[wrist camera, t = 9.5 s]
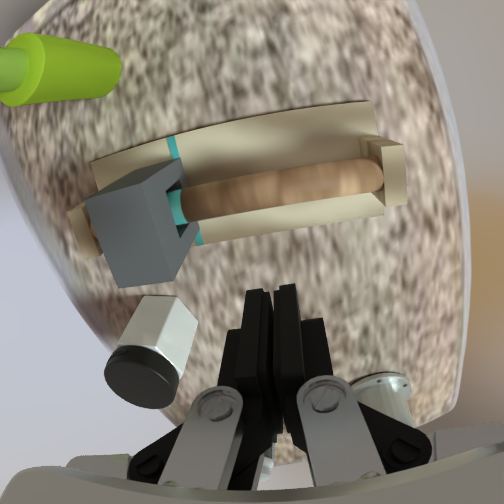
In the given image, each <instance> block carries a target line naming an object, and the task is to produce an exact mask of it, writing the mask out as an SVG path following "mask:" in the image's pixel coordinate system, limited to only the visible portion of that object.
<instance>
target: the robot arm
mask: <svg viewBox="0 0 504 504" xmlns="http://www.w3.org/2000/svg"><path fill="white" fill-rule="evenodd" d="M411 389H412V388H411V384H410V382H409V380H408V379H407V378H406V377H405V376H404V375H402V374H398V373H380V374H375V375H372V376H369V377H366V378H364V379H361V380H360V381H358V382H356V383H354V384H353V385H352V386H350V385H349V384H348V382H346V381H345V380H343V379H342V378H339V377H336V376H333V370H332V364H331V359H330V353H329V348H328V342H327V337H326V332H325V327H324V321H323V318H316V319H309V320H303V321H301V318H300V311H299V304H298V298H297V291H296V285H295V283H294V284H288V285H281V286H279V290H276V291H274V311H273V306H272V301H271V297H270V293H269V292H264V291H263V289H262V288H260V289H253V290H247V291H246V296H245V303H244V310H243V317H242V325H241V329H232V330H228V332H227V336H226V341H225V347H224V352H223V357H222V362H221V368H220V373H219V378H218V384H217V386H215V387H212V388H208V389H207V390H205V391H203V392H201V393H200V394H199V395H198V396H197V397H196V398H195V400H194V401H193V403H192V405H191V408H190V410H189V412H188V415H187V417H186V419H185V422H184V423H183V424H181V425H180V426H178V427H177V428H175V429H174V430H172V431H171V432H169V433H167V434H166V435H165V436H163V437H161V438H160V439H158V440H157V441H155V442H154V443H152V444H150V445H149V446H147V447H146V448H144V449H142V450H141V451H139V452H138V453H137V454H136V455H134V456H130V455H129V454H116V455H93V456H77V457H75V458H73V459H71V460H70V461H69V463H68V464H67V466H66V467H61V466H41V467H33V468H28V469H25V470H22V471H20V472H19V473H17V474H16V475H15V476H14V477H13V478H12V479H11V481H10V482H9V484H8V485H7V487H6V488H5V490H4V492H3V494H2V496H1V498H0V504H504V424H503V423H500V422H490V423H484V424H479V425H473V426H466V427H458V428H450V429H441V430H436V431H435V433H431V434H424V433H423V432H421V431H420V430H418V429H415V426H414V423H413V420H412V417H411V414H410V411H409V408H408V405H407V402H406V401H407V400H408V398H409V397H410V394H411ZM283 417H284V421H285V425H286V429H287V432H288V433H291V437H292V441H293V444H294V445H295V446H297V447H298V448H299V449H301V450H302V451H304V452H305V453H306V456H307V460H308V464H309V468H310V473H311V477H312V481H313V485H314V487H308V488H298V489H285V490H260V491H257V486H258V482H259V478H260V474H261V470H262V466H263V461H264V452H265V451H267V450H268V449H269V448H270V447H271V446H272V443H277V434H281V433H283Z"/></svg>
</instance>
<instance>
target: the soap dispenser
mask: <svg viewBox="0 0 504 504" xmlns="http://www.w3.org/2000/svg"><path fill="white" fill-rule="evenodd" d="M120 75H121V61H120V58H119V56H118V54H117V53H116V52H115V51H113V50H112V49H110V48H106V47H102V46H98V45H94V44H89V43H85V42H80V41H75V40H70V39H65V38H60V37H54V36H48V35H42V34H35V33H23V34H21V35H18V36H17V37H15V38H14V39H13V40H12V41H11V42H10V43H9V44H8V45H7V46H6V47H0V100H1V102H2V103H4V104H5V105H7V106H10V107H15V106H22V105H29V104H36V103H44V102H53V101H63V100H74V99H89V98H100V97H103V96H105V95H107V94H108V93H109V92H111V91H112V90H113V88H114V87H115V86H116V84H117V83H118V81H119V78H120Z"/></svg>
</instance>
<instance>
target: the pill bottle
mask: <svg viewBox="0 0 504 504" xmlns="http://www.w3.org/2000/svg"><path fill="white" fill-rule="evenodd" d="M273 465H274V443H272V446H271V447H270V448H269V449H268V450H267V451H265V452H264V461H263V466H262V470H261V474H260V478H259V482H263V481H267V480H269V479H270V478H271V471H270V470H269V469H271V468H272V467H273Z"/></svg>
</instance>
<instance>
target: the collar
mask: <svg viewBox="0 0 504 504" xmlns="http://www.w3.org/2000/svg"><path fill="white" fill-rule="evenodd" d="M184 188H188V184H187V180H186V176H185V173H184V169H183V165H182V161H181V157H180V158H176V159H172V160H168V161H164V162H161V163H157V164H153V165H150V166H146V167H143V168H139V169H136V170H134V171H132V172H130V173H128V174H127V175H125V176H123V177H121V178H120V179H118V180H116V181H115V182H113V183H111V184H109V185H108V186H106V187H104V188H103V189H101V190H99V191H98V192H96V193H95V194H93V195H91V196H90V197H88V198H87V199H85V200H84V202H85V205H86V208H87V211H88V214H89V216H90V219H91V222H92V225H93V227H94V230H95V233H96V235H97V238H98V241H99V243H100V246H101V248H102V251H103V253H104V256H105V258H106V261H107V263H108V266H109V268H110V270H111V273H112V275H113V277H114V280H115V282H116V284H117V286H118V288H126V287H133V286H141V285H148V284H155V283H162V282H170V281H174V279H175V277H176V275H177V273H178V271H179V269H180V267H181V265H182V263H183V261H184V259H185V257H186V255H187V253H188V251H189V249H190V248H191V246H192V244H193V242H194V240H195V238H196V236H197V234H198V232H199V230H200V227H199V224H198V221H196V222H190V223H185V224H180V225H175V221H174V218H173V215H172V211H171V208H170V205H169V201H168V198H167V195H166V192H171V191H175V190H179V189H184Z"/></svg>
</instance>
